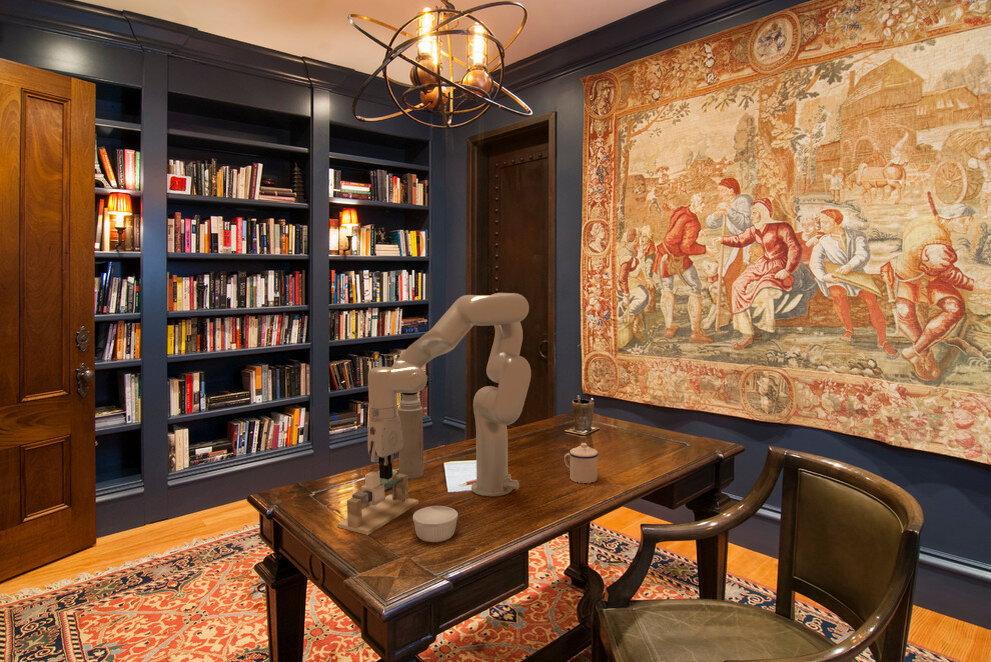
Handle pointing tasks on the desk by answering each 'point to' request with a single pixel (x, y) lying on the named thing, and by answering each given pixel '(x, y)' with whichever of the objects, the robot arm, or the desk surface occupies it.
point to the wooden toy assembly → (377, 507)
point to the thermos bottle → (411, 436)
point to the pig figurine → (388, 479)
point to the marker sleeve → (374, 487)
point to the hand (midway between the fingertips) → (386, 477)
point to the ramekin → (435, 523)
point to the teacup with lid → (582, 464)
